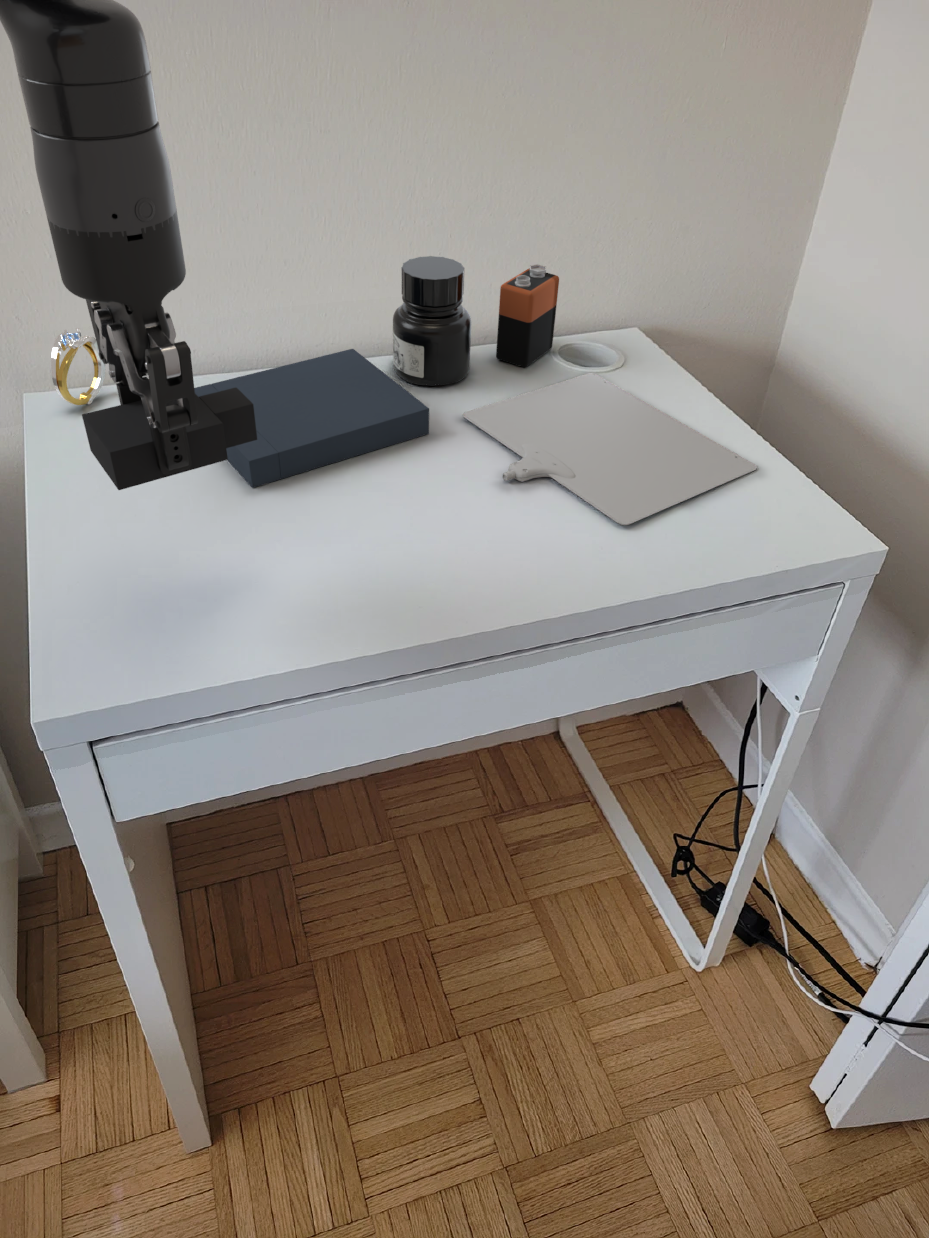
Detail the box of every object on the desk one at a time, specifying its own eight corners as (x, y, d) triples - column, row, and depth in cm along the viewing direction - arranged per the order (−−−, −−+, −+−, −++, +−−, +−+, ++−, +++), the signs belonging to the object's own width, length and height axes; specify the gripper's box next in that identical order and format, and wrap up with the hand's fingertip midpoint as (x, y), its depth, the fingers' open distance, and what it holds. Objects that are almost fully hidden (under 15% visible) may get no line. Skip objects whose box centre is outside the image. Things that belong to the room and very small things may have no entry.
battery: (553, 349, 116) (562, 267, 109) (525, 369, 111) (533, 286, 105) (522, 340, 117) (529, 259, 111) (494, 359, 113) (499, 276, 106)
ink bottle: (388, 353, 113) (386, 252, 105) (460, 350, 114) (464, 250, 107) (399, 392, 106) (398, 286, 98) (476, 388, 107) (482, 283, 99)
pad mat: (252, 488, 90) (248, 461, 88) (187, 416, 100) (183, 390, 98) (429, 434, 99) (429, 408, 97) (354, 372, 109) (352, 348, 107)
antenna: (429, 428, 100) (429, 418, 99) (591, 377, 112) (593, 367, 111) (591, 545, 85) (593, 535, 85) (758, 472, 97) (761, 462, 96)
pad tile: (118, 490, 65) (109, 452, 63) (90, 451, 69) (81, 414, 67) (266, 449, 70) (262, 412, 68) (233, 414, 74) (228, 378, 72)
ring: (76, 420, 99) (58, 348, 93) (52, 413, 99) (32, 341, 94) (121, 392, 103) (105, 322, 98) (97, 386, 104) (81, 316, 99)
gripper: (14, 180, 60) (75, 418, 71) (86, 255, 51) (142, 513, 62) (131, 165, 63) (171, 394, 74) (217, 232, 54) (249, 481, 65)
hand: (158, 447), depth 68 cm, fingers closed on pad tile, 6 cm apart
